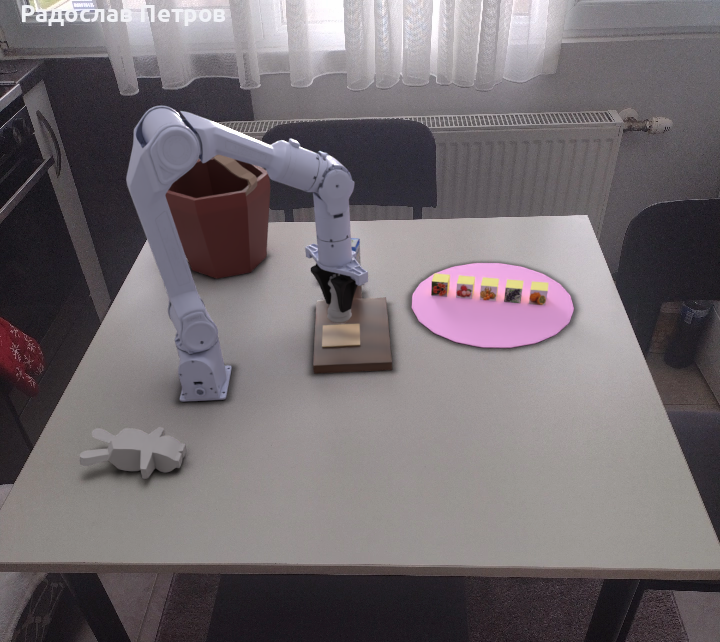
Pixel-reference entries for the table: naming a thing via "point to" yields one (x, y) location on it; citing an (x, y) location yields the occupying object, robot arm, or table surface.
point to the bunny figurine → (137, 451)
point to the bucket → (222, 215)
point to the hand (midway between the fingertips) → (338, 306)
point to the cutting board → (353, 338)
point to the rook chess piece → (336, 307)
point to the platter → (492, 305)
